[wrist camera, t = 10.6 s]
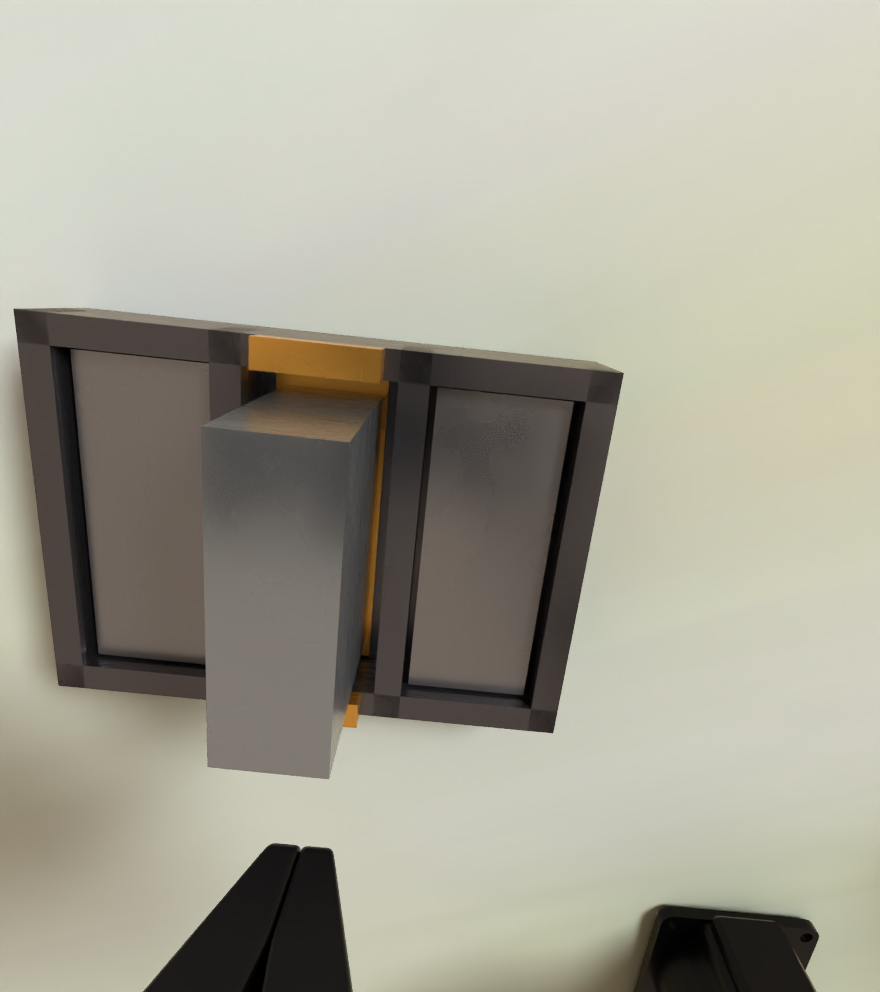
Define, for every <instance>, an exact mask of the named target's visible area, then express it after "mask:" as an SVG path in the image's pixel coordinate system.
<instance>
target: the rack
mask: <svg viewBox="0 0 880 992" xmlns="http://www.w3.org/2000/svg"><path fill="white" fill-rule="evenodd" d="M14 316H15V325H16V333H17V342H18V350H19V358H20V367H21V375H22V383H23V392H24V400H25V408H26V417H27V425H28V433H29V442H30V450H31V459H32V467H33V475H34V484H35V492H36V500H37V509H38V517H39V525H40V534H41V542H42V550H43V559H44V567H45V576H46V584H47V592H48V601H49V609H50V617H51V626H52V634H53V642H54V651H55V659H56V667H57V676H58V684H59V686H69V687H80V688H90V689H100V690H111V691H121V692H132V693H142V694H152V695H163V696H173V697H183V698H194V699H204V700H206V657H205V607H204V556H203V505H202V455H201V426H202V425H204V424H206V423H208V422H210V421H212V420H214V419H217V418H219V417H221V416H223V415H225V414H227V413H229V412H231V411H233V410H235V409H237V408H239V407H241V406H243V405H245V404H247V403H249V402H251V401H253V400H255V399H257V398H260V397H262V396H264V395H266V394H268V393H270V392H272V391H274V390H276V389H278V388H280V387H282V386H284V385H295V386H304V387H313V388H322V389H331V390H341V391H350V392H359V393H368V394H377V395H384V402H383V415H382V427H381V440H380V453H379V466H378V479H377V492H376V505H375V518H374V530H373V543H372V556H371V569H370V582H369V595H368V608H367V621H366V633H365V641H364V645H363V649H362V653H361V656H360V660H359V664H358V668H357V672H356V676H355V680H354V684H353V688H352V691H351V695H350V699H349V703H348V707H347V711H346V715H345V719H344V722H343V726H342V727H352V728H356V727H357V723H358V718H359V715H370V716H380V717H391V718H401V719H411V720H422V721H432V722H442V723H453V724H463V725H473V726H484V727H494V728H504V729H515V730H525V731H536V732H546V733H553V731H554V726H555V721H556V715H557V710H558V705H559V700H560V695H561V690H562V685H563V680H564V675H565V670H566V665H567V659H568V654H569V649H570V644H571V639H572V634H573V629H574V624H575V619H576V614H577V608H578V603H579V598H580V593H581V588H582V583H583V578H584V573H585V568H586V563H587V557H588V552H589V547H590V542H591V537H592V532H593V527H594V522H595V517H596V512H597V507H598V501H599V496H600V491H601V486H602V481H603V476H604V471H605V466H606V461H607V456H608V450H609V445H610V440H611V435H612V430H613V425H614V420H615V415H616V410H617V405H618V399H619V394H620V389H621V384H622V379H623V374H624V373H622V372H619V371H617V370H614V369H612V368H609V367H607V366H604V365H602V364H599V363H597V362H591V361H581V360H572V359H562V358H553V357H544V356H534V355H525V354H515V353H506V352H496V351H487V350H477V349H468V348H458V347H449V346H440V345H430V344H421V343H411V342H402V341H392V340H383V339H373V338H364V337H354V336H345V335H335V334H326V333H317V332H307V331H298V330H288V329H279V328H269V327H260V326H250V325H241V324H231V323H222V322H213V321H203V320H194V319H184V318H175V317H165V316H156V315H146V314H137V313H127V312H118V311H109V310H99V309H90V308H48V309H14Z"/></svg>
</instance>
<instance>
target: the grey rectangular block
mask: <svg viewBox="0 0 880 992" xmlns="http://www.w3.org/2000/svg"><path fill="white" fill-rule="evenodd" d="M383 402H384V395H377V394H368V393H359V392H350V391H341V390H331V389H322V388H313V387H304V386H295V385H284V386H282V387H280V388H278V389H276V390H274V391H272V392H270V393H268V394H266V395H264V396H262V397H260V398H257V399H255V400H253V401H251V402H249V403H247V404H245V405H243V406H241V407H239V408H237V409H235V410H233V411H231V412H229V413H227V414H225V415H223V416H221V417H219V418H217V419H214V420H212V421H210V422H208V423H206V424H204V425H202V426H201V455H202V505H203V556H204V607H205V657H206V708H207V758H208V767H212V768H222V769H232V770H242V771H252V772H262V773H272V774H282V775H292V776H302V777H312V778H322V779H329V777H330V773H331V769H332V765H333V761H334V757H335V754H336V750H337V746H338V742H339V738H340V734H341V730H342V726H343V722H344V719H345V715H346V711H347V707H348V703H349V699H350V695H351V691H352V688H353V684H354V680H355V676H356V672H357V668H358V664H359V660H360V656H361V653H362V649H363V645H364V641H365V633H366V621H367V608H368V595H369V582H370V569H371V556H372V543H373V530H374V518H375V505H376V492H377V479H378V466H379V453H380V440H381V427H382V415H383Z"/></svg>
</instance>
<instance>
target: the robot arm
mask: <svg viewBox="0 0 880 992" xmlns="http://www.w3.org/2000/svg"><path fill="white" fill-rule="evenodd" d="M818 939H819V935H818V932H817V931H816V929H815V927H814V926H813V924H812V922H810V921H809V920H805V919H796V918H785V917H774V916H763V915H753V914H742V913H731V912H720V911H709V910H699V909H688V908H677V907H667V908H664V909H662V910H661V911H659V913H658V915H657V918H656V921H655V925H654V928H653V931H652V935H651V938H650V941H649V945H648V948H647V951H646V955H645V958H644V961H643V965H642V968H641V971H640V975H639V978H638V982H637V985H636V988H635V992H816V990H815V988H814V986H813V984H812V982H811V981H810V979H809V977H808V975H807V973H806V971H805V970H806V967H807V965H808V963H809V960H810V958H811V956H812V953H813V951H814V948H815V946H816V944H817V941H818ZM143 992H353V990H352V983H351V976H350V969H349V961H348V954H347V947H346V940H345V933H344V925H343V918H342V911H341V904H340V896H339V889H338V882H337V875H336V867H335V860H334V854H333V851H332V850H331V849H329V848H321V847H310V846H307V847H304V848H303V849H302V850H301V849H300V847H299V846H296V845H289V844H278V843H274V844H271V845H269V846H267V847H266V848H265V849H264V851H263V852H262V853H261V854H260V855H259V856H258V858H257V859H256V860H255V861H254V862H253V863H252V865H251V866H250V867H249V868H248V869H247V870H246V872H245V873H244V874H243V875H242V876H241V878H240V879H239V880H238V881H237V882H236V883H235V885H234V886H233V887H232V888H231V889H230V890H229V892H228V893H227V894H226V895H225V896H224V897H223V899H222V900H221V901H220V902H219V903H218V904H217V906H216V907H215V908H214V909H213V910H212V912H211V913H210V914H209V915H208V916H207V917H206V919H205V920H204V921H203V922H202V923H201V924H200V926H199V927H198V928H197V929H196V930H195V931H194V933H193V934H192V935H191V936H190V937H189V939H188V940H187V941H186V942H185V943H184V944H183V946H182V947H181V948H180V949H179V950H178V951H177V953H176V954H175V955H174V956H173V957H172V958H171V960H170V961H169V962H168V963H167V964H166V965H165V967H164V968H163V969H162V970H161V971H160V973H159V974H158V975H157V976H156V977H155V978H154V980H153V981H152V982H151V983H150V984H149V985H148V987H147V988H146V989H145V990H144V991H143Z"/></svg>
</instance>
